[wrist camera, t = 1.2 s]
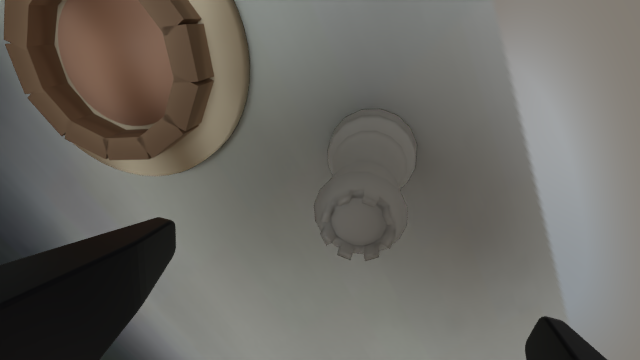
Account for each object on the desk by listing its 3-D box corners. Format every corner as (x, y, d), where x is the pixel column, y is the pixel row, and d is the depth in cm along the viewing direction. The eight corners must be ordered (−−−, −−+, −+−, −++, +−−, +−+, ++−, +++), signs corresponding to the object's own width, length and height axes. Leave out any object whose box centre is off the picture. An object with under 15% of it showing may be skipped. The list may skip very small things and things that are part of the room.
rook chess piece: (408, 97, 18) (415, 152, 10) (423, 180, 19) (438, 278, 12) (320, 116, 19) (273, 178, 12) (341, 193, 20) (310, 289, 13)
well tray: (142, 204, 24) (113, 225, 21) (-16, 24, 21) (-69, 25, 18) (299, 91, 19) (285, 102, 16) (122, -167, 16) (73, -199, 13)
